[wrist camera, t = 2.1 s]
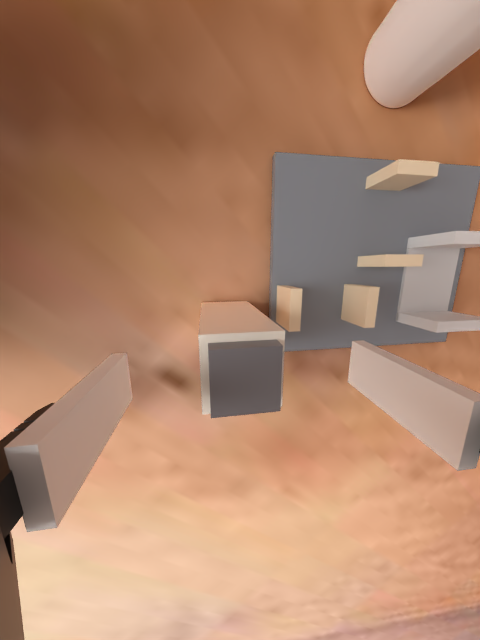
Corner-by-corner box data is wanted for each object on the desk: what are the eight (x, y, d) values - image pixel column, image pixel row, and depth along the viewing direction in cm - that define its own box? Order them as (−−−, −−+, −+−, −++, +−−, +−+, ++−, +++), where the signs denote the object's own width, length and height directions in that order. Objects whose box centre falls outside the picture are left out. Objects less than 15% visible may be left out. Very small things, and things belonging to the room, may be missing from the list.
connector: (203, 346, 23) (202, 427, 11) (201, 302, 22) (197, 341, 10) (247, 344, 24) (288, 417, 12) (247, 301, 23) (292, 336, 11)
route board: (268, 349, 24) (285, 372, 19) (272, 156, 20) (296, 118, 15) (438, 339, 27) (493, 356, 22) (472, 169, 23) (549, 141, 18)
